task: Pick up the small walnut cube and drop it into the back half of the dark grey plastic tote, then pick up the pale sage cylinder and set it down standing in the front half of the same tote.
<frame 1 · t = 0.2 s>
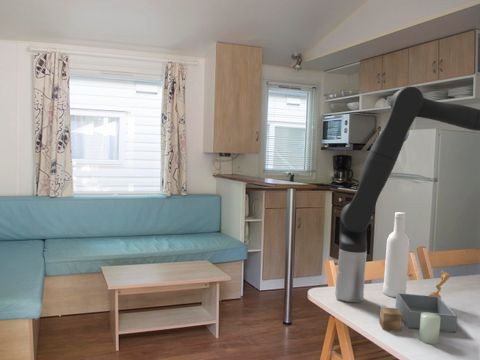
sage cylinder: (428, 340, 123), on the table
bottle: (394, 294, 161), on the table
tote: (423, 319, 138), on the table
figurine: (437, 304, 153), on the table
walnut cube: (389, 327, 131), on the table
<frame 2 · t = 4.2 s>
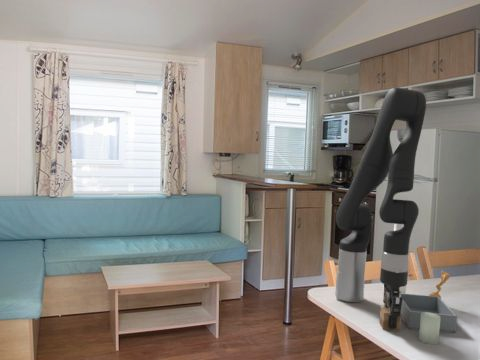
hand: (390, 323, 131), 1 cm above the table, tool pointing down, fingers closed on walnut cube, 5 cm apart
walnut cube: (389, 327, 131), on the table, touching gripper
everything else where it was.
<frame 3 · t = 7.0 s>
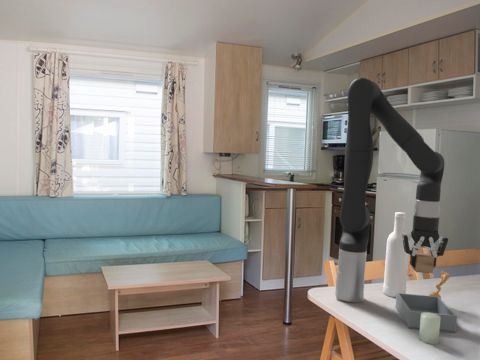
hand: (422, 267, 141), 15 cm above the table, tool pointing down, fingers closed on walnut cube, 5 cm apart
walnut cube: (422, 270, 141), point 14 cm above the table, touching gripper
everything else where it was.
when the fingers open (4 cm above the table, at t = 9.7 s): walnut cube drops 3 cm, resting on tote.
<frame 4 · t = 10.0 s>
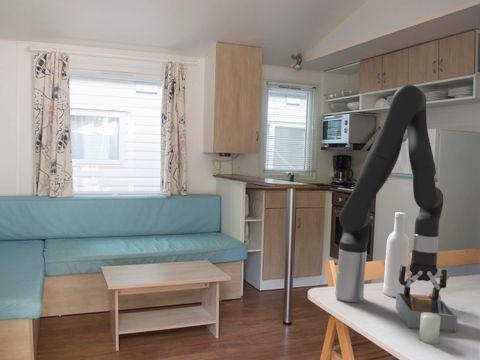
hand: (420, 298, 142), 5 cm above the table, tool pointing down, fingers open, 8 cm apart
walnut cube: (419, 312, 142), point 1 cm above the table, touching tote
everything else where it was.
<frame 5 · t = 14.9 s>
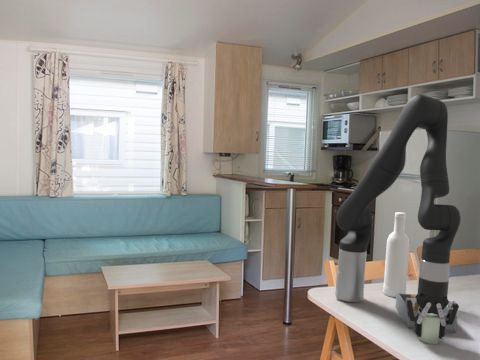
hand: (428, 336, 123), 1 cm above the table, tool pointing down, fingers closed on sage cylinder, 5 cm apart
sage cylinder: (428, 340, 123), on the table, touching gripper
everything else where it was.
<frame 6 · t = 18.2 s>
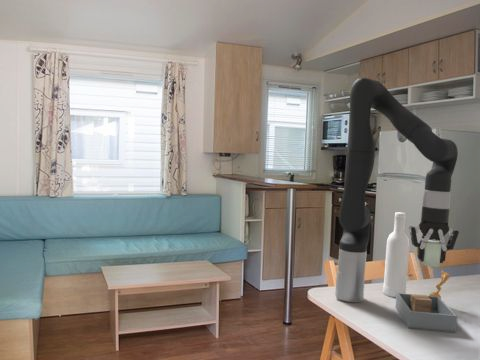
hand: (430, 261, 133), 19 cm above the table, tool pointing down, fingers closed on sage cylinder, 5 cm apart
sage cylinder: (430, 264, 133), point 18 cm above the table, touching gripper
everything else where it was.
when the fingers open (3 cm above the table, at t = 21.9 s): sage cylinder drops 1 cm, resting on tote.
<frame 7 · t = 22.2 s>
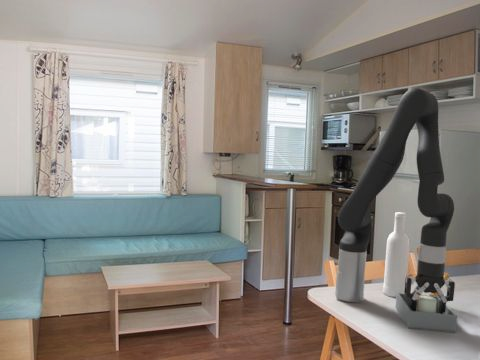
hand: (427, 312, 135), 3 cm above the table, tool pointing down, fingers open, 7 cm apart
sage cylinder: (426, 321, 135), point 1 cm above the table, touching tote
everything else where it was.
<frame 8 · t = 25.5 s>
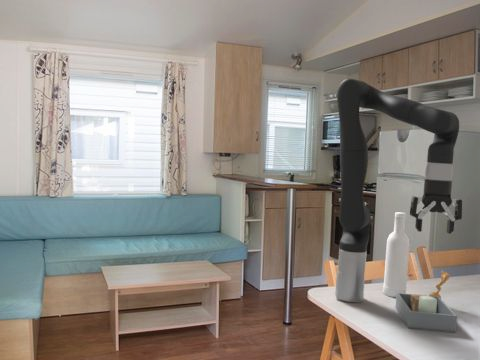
hand: (433, 232, 133), 28 cm above the table, tool pointing down, fingers open, 8 cm apart
nothing on the table moved.
at the end: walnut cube inside the target area on the tote (4.4 cm from its centre), point 0.6 cm above the tote's base; sage cylinder inside the target area on the tote (3.0 cm from its centre), point 0.7 cm above the tote's base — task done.
